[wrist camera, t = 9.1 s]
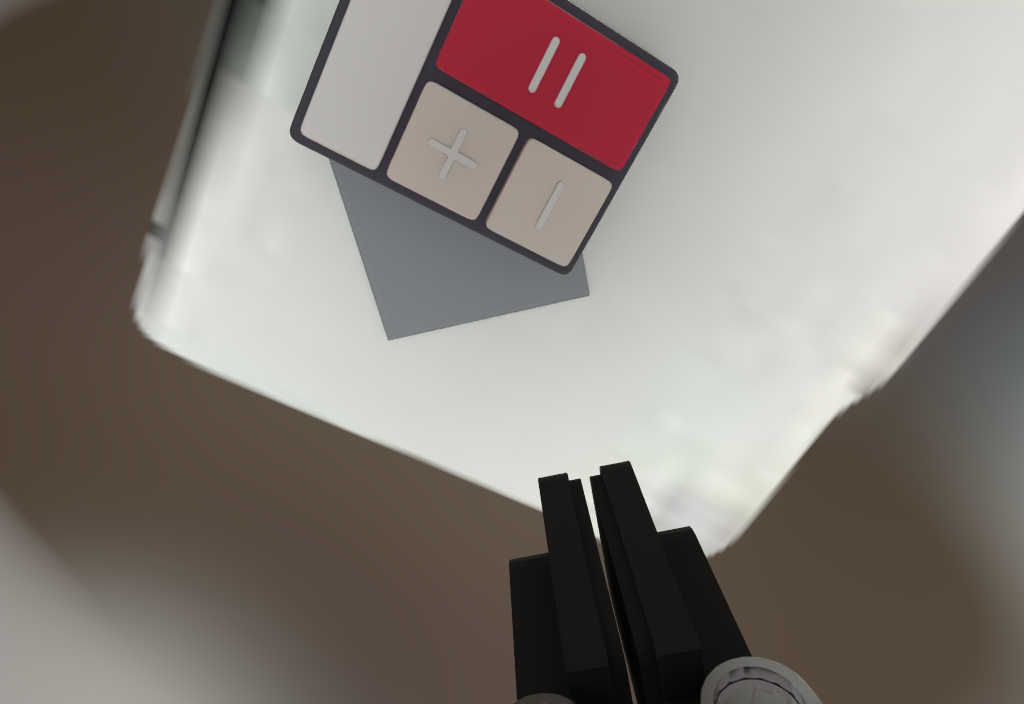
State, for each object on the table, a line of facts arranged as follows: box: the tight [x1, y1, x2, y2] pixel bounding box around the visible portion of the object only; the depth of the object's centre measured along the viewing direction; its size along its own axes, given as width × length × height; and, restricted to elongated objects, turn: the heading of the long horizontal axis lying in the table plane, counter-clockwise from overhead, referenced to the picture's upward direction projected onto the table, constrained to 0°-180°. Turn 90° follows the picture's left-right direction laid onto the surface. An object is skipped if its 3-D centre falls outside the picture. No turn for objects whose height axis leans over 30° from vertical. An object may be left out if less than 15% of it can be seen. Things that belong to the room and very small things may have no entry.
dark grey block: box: [290, 0, 678, 275], centre depth 30 cm, size 11×4×15 cm
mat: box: [329, 159, 589, 340], centre depth 34 cm, size 12×11×1 cm
